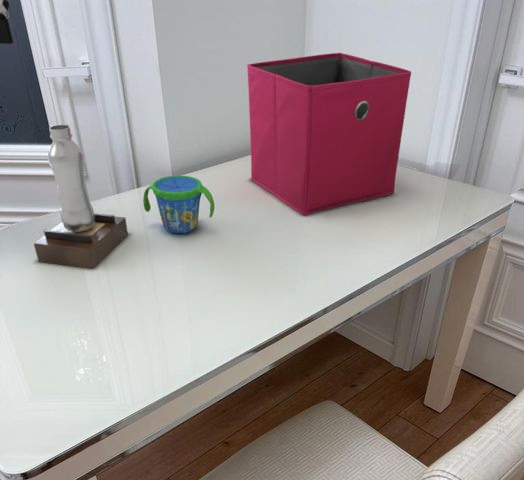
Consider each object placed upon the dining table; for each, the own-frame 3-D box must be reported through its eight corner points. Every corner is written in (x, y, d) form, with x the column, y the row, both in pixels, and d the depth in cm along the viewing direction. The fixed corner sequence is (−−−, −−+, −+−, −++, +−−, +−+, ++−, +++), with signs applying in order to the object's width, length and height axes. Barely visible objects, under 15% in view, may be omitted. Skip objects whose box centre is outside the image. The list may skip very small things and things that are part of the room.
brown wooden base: (38, 261, 110) (31, 236, 107) (78, 228, 123) (73, 205, 119) (92, 268, 108) (87, 243, 105) (128, 234, 120) (124, 210, 117)
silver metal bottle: (57, 230, 112) (32, 128, 100) (83, 219, 116) (62, 120, 104) (78, 238, 109) (55, 134, 97) (104, 226, 113) (85, 125, 101)
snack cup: (222, 223, 125) (220, 179, 119) (204, 242, 117) (201, 196, 111) (159, 214, 129) (154, 171, 123) (138, 233, 121) (132, 188, 115)
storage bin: (304, 218, 127) (310, 84, 110) (246, 180, 147) (244, 61, 130) (398, 196, 138) (417, 71, 121) (332, 163, 158) (340, 51, 141)
